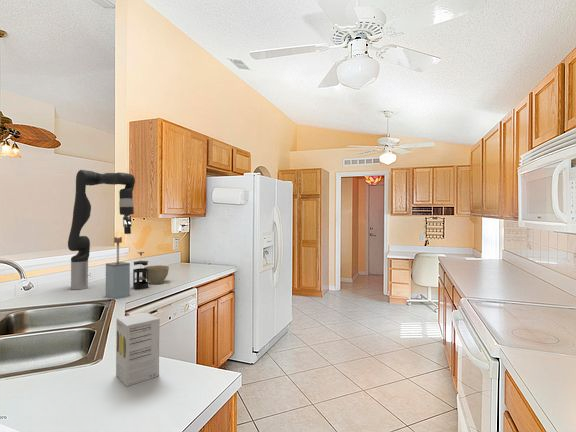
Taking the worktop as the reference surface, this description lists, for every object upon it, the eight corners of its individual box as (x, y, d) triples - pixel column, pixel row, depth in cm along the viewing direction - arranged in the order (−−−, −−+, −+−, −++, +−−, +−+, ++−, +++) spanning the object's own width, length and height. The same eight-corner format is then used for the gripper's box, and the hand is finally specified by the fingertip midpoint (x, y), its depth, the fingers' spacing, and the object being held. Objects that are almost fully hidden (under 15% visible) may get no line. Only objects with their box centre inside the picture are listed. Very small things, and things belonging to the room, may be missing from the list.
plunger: (109, 279, 187) (110, 237, 187) (120, 277, 191) (120, 236, 191) (114, 280, 183) (115, 237, 183) (125, 279, 188) (125, 237, 188)
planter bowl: (148, 286, 214) (148, 269, 215) (140, 282, 227) (140, 266, 227) (172, 283, 225) (172, 267, 225) (164, 279, 237) (164, 264, 237)
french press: (144, 289, 204) (145, 253, 204) (129, 289, 204) (129, 253, 204) (151, 285, 216) (152, 251, 216) (137, 285, 215) (137, 251, 215)
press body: (105, 296, 186) (105, 263, 186) (121, 293, 194) (122, 261, 194) (113, 299, 181) (113, 265, 181) (129, 296, 188) (129, 263, 188)
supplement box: (115, 375, 95) (115, 317, 95) (147, 365, 101) (147, 311, 101) (126, 387, 88) (126, 325, 88) (160, 375, 95) (160, 318, 95)
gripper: (117, 207, 197) (118, 234, 196) (121, 205, 185) (122, 234, 184) (131, 207, 201) (132, 233, 200) (135, 205, 189) (136, 233, 189)
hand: (127, 233), depth 192 cm, fingers open, 8 cm apart
